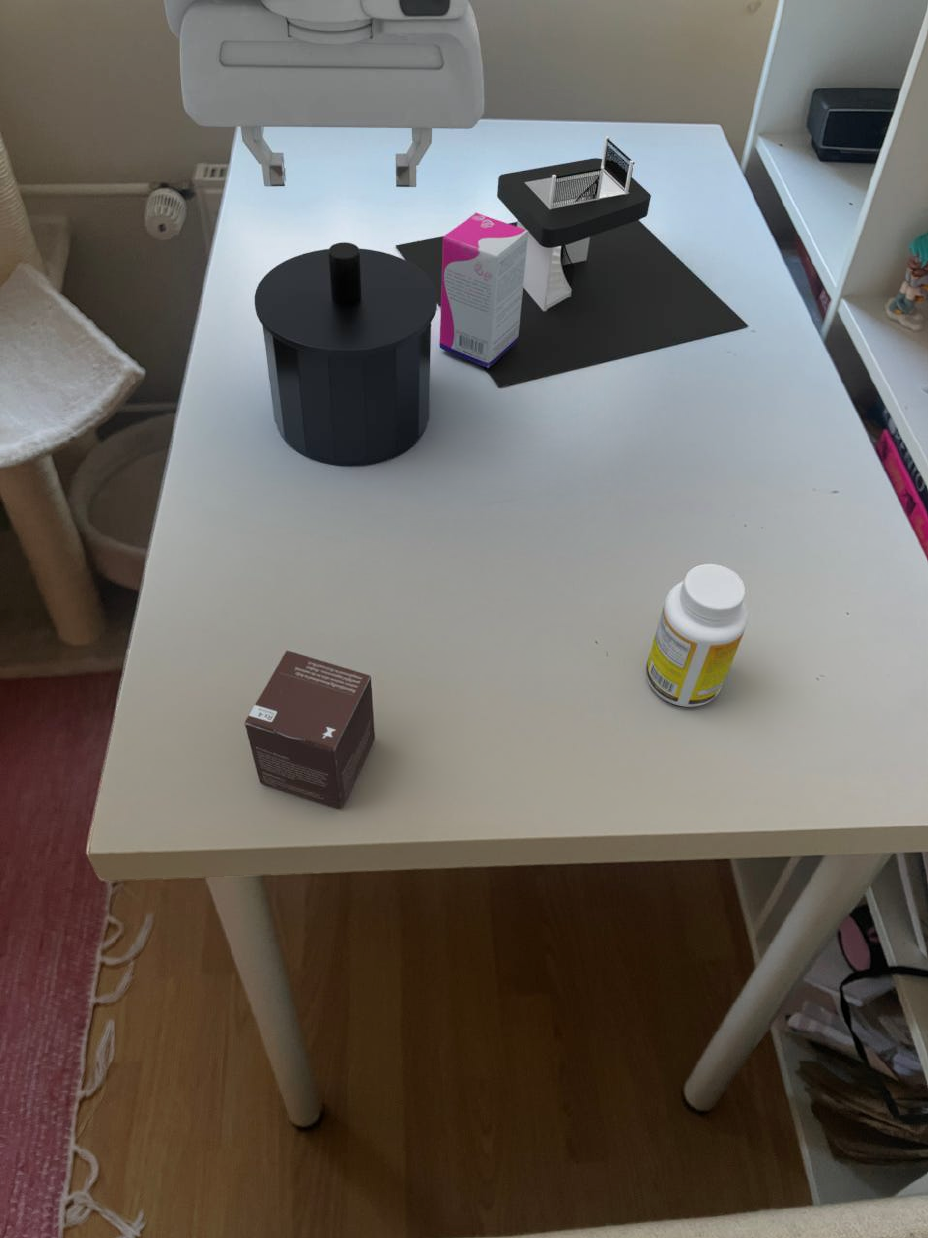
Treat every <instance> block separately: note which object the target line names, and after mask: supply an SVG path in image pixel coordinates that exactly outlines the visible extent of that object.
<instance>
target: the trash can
mask: <svg viewBox="0 0 928 1238" xmlns="http://www.w3.org/2000/svg"><path fill="white" fill-rule="evenodd" d="M261 325H262V324H261ZM262 333H263V341H264V348H265V357H266V363H267V364H266V365H267V372H268V379H269V387H270V395H271V396H270V397H271V403H272V411H273V419H274V423H275V424H276V428H277V430H278V433H279V435H280V437H281V438H282V439H283V441H284V442H285V443H286V444H287V445H288V446H289V447H290V448H292V449H293V451H295V452H297V453H299V454H300V455H302V456H304V457H305V458H308V459H310V460H313V461H316V462H318V463H323V464H327V465H332V466H341V467H360V466H361V467H363V466H370V465H376V464H379V463H383V462H386V461H389V460H392V459H394V458H397V457H398V456H401V455H402V454H404V453H406V452H407V451H409V450H410V449H411V448H413V446H415V445H416V444H417V443H418V442H419V441H420V439H422V437H423V436H424V434H425V432H426V429H427V427H428V424H429V423H428V422H429V421H430V401H431V400H430V399H431V398H430V395H431V394H430V393H431V392H430V390H431V389H430V388H431V349H432V344H431V343H432V323H431V324H430V325H429V326H428V327H427V329H426V330H425V331H423V332H422V333H421V334H420V335H419V336H417V337H416V338H415V339H413V340H412V341H410V342H408V343H406V344H404V345H402V346H399V347H397V348H394V349H391V350H388V351H385V352H381V353H376V354H371V355H363V356H349V357H342V356H328V355H320V354H315V353H310V352H306V351H303V350H300V349H297V348H294V347H292V346H289V345H287V344H285V343H284V342H282V341H280V340H278V339H277V338H275V337H274V336H273V335H271V334H270V333H269V332H268V331H267V330H266V329H265V328H264V326H263V325H262Z"/></svg>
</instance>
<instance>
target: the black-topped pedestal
mask: <svg viewBox="0 0 928 1238" xmlns="http://www.w3.org/2000/svg"><path fill="white" fill-rule="evenodd" d="M602 152H603V153H602V158H598V157H595V158H588V159H587V158H586V159H581V160H575V161H571V162H566V163H559V164H554V165H548V166H542V167H537V168H531V169H526V170H519V171H514V172H508V173H503V174H500V175H499V176H498V178H497V192H496V193H497V194H496V197H497V199H498V200H499V201H500V202H501V203H502V205H504V206H505V207H506V209H507V210H508V211H509V212H510V213H511V214H512V215H513V216H514V218H515V219H516V220H517V221H514V222H509V223H507V224H510V225H513V226H516V227H519V228H522V229H525V230H527V231H528V242H527V252H526V262H525V273H524V283H523V294H522V303H521V314H520V325H519V335H518V341H517V342H516V343H515V344H514V345H513V346H512V347H511V348H510V349H508V350H507V351H506V352H505V353H504V354H503V355H502V356H501V357H500V358H499V359H498V360H497V361H496V362H495V363H494V364H492V365H491V366H490V367H489V368H487V367H484V368H485V370H486V371H487V373H488V374H489V376H490V377H491V378H492V380H493V381H494V383H496V385H497V386H498V388H501V387H505V386H509V385H513V384H517V383H521V382H526V381H530V380H534V379H538V378H541V377H545V376H550V375H554V374H558V373H563V372H566V371H567V372H568V371H570V370H574V369H579V368H583V367H586V366H591V365H595V364H599V363H603V362H607V361H611V360H615V359H619V358H625V357H627V356H632V355H635V354H639V353H644V352H648V351H651V350H656V349H660V348H664V347H668V346H672V345H676V344H681V343H684V342H688V341H692V340H697V339H700V338H706V337H709V336H714V335H718V334H721V333H726V332H729V331H734V330H738V329H741V328H746V327H749V324H748V323H746V321H744V320H743V318H742V317H740V316H739V315H738V314H737V313H736V312H735V311H734V310H733V309H732V308H730V306H729V305H728V304H727V303H726V302H725V301H723V299H722V298H721V297H720V296H718V295H717V293H715V292H714V291H713V290H712V289H711V288H710V287H709V285H707V284H706V283H705V282H704V281H703V280H702V279H701V278H699V277H698V275H696V273H694V271H692V270H691V269H690V268H689V266H687V265H686V264H685V263H684V262H683V260H681V259H680V258H679V257H678V256H677V255H676V254H675V253H673V251H671V249H670V248H668V246H666V245H665V244H664V243H663V242H662V241H661V240H660V239H659V238H658V237H657V236H656V235H655V234H654V233H653V232H652V231H651V230H650V229H648V227H647V226H646V225H644V223H642V221H641V219H644V218H646V217H647V216H648V214H649V209H650V203H651V198H652V194H651V193H649V192H648V190H647V189H646V188H645V187H643V186H642V185H641V184H640V183H639V182H638V181H637V180H636V179H635V178H634V177H632V175H633V172H634V165H635V162H634V160H632V158H630V157H629V156H628V155H627V154H626V153H625V152H623V151H622V150H621V149H620V148H619V147H618V146H616V144H615V143H613V141H611V140H610V136H608V135H607V136H605V139H604V146H603V151H602ZM444 236H445V235H442V236H436V237H430V238H426V239H425V238H424V239H421V240H416V241H411V242H405V243H400V244H395V246H394V247H396V249H397V250H398V251H399V252H400V255H402V257H403V259H404V260H406V261H408V262H410V263H411V264H413V265H415V266H416V267H418V268H419V269H420V270H421V271H423V272H424V273H425V274H426V275H427V276H428V277H429V279H430V280H431V282H432V283H433V285H434V288H435V290H436V294H437V305H438V306H439V308H441V285H442V255H443V237H444Z"/></svg>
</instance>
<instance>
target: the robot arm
mask: <svg viewBox="0 0 928 1238" xmlns="http://www.w3.org/2000/svg"><path fill="white" fill-rule="evenodd" d="M163 5H164V10H165V16H166V21H167V25H168V27H169V30H170V31H171V33H172V34H173V36H174V37H175V38H176V39H177V40H178V41H179V72H180V73H179V74H180V75H179V76H180V86H181V97H182V104H183V105H182V106H183V110H184V112H185V113H186V114H187V115H188V117H190V119H191V120H192V121H193V122H194V123H195V124H196V125H198V126H199V127H200V126H201V127H240V134H241V140H242V142H243V144H244V145H245V147H246V148H247V149H248V151H249V152H250V154H251V155H252V157H254V159H255V160H256V162H257V163H258V164H259V165H261V171H262V172H261V173H262V179H263V186H264V187H269V188H270V187H271V188H272V187H286V181H287V174H286V173H287V172H286V167H285V154H284V152H273V151H272V149H271V148H270V146H269V145H268V143H267V142H266V140H265V138H264V137H263V136H264V130H265V128H346V129H347V128H350V129H351V128H353V129H354V128H357V129H361V128H362V129H363V128H365V129H367V128H368V129H411V140H412V141H411V144H410V146H409V148H408V150H407V151H406V153H395V187H396V188H417V166H419V164H420V163H421V161H422V159H423V158H424V157H425V155H426V153H427V151H428V150H429V148H430V147H431V145H432V143H433V129H456V130H457V129H460V130H464V129H465V130H469V129H473V128H474V127H475V126H476V125H477V124H478V122H479V121H480V120H481V119H482V117H483V116H484V114H485V77H484V65H483V57H482V49H481V42H480V41H481V40H480V34H479V29H478V25H477V20H476V16H475V13H474V10H473V7H472V5H471V3H470V1H469V0H163Z"/></svg>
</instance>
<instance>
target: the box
mask: <svg viewBox="0 0 928 1238" xmlns="http://www.w3.org/2000/svg"><path fill="white" fill-rule="evenodd" d="M373 701H374V700H373V687H372V675H370V674H367V673H362V672H360V671H357V670H354V669H351V668H348V667H343V666H340V665H337V664H333V663H331V662H327V661H323V660H320V659H316V658H313V657H311V656H308V655H303V654H300V653H298V652H294V651H290V650H286V651H285V652H284V654H283V655H282V657H281V659H280V661H279V662H278V665H277V666H276V667H275V670H274V671H273V672H272V674H271V676H270V677H269V680H268V681H267V683H266V685H265V686H264V688H263V690H262V692H261V694H260V695H259V697H258V698H257V701H256V702H255V703H254V705H253V707H252V709H251V711H250V712H249V714H248V716H247V717H246V719H245V721H244V727H245V729H246V734H247V739H248V741H249V745H250V749H251V754H252V758H253V761H254V762H253V763H254V766H255V770H256V773H257V776H258V780H259V783H260V784H262V785H264V786H268V787H271V788H274V789H277V790H281V791H283V792H286V793H290V794H293V795H295V796H299V797H301V798H305V799H308V800H312V801H314V802H316V803H321V804H323V805H326V806H329V807H333V808H335V809H338V810H342V809H343V807H344V806H345V803H346V801H347V799H348V797H349V795H350V792H351V790H352V788H353V786H354V784H355V781H356V780H357V778H358V776H359V773H360V771H361V769H362V767H363V765H364V762H365V760H366V758H367V756H368V754H369V752H370V750H371V748H372V745H373V743H374V741H375V738H376V733H375V715H374V703H373Z"/></svg>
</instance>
